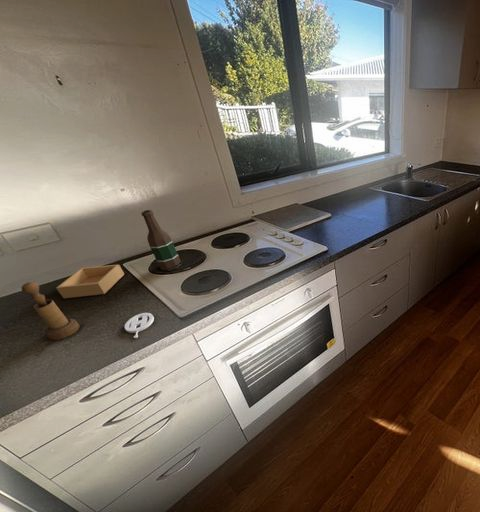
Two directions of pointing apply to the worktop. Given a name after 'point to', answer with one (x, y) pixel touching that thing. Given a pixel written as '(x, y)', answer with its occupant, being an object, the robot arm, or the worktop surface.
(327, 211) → the worktop surface
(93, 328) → the worktop surface
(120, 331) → the worktop surface
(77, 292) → the wooden tray
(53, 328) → the mortar and pestle
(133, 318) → the pendant
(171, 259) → the beer bottle
